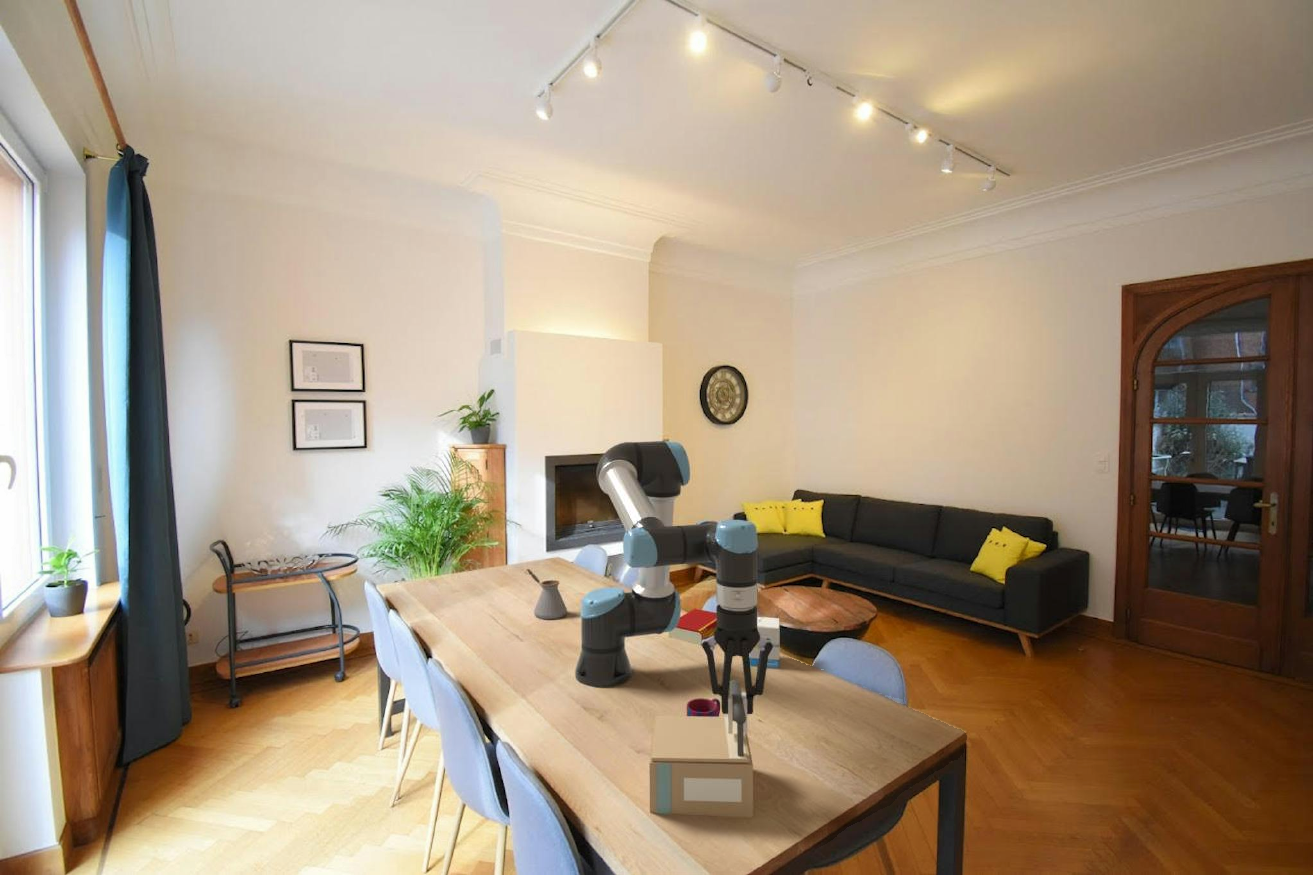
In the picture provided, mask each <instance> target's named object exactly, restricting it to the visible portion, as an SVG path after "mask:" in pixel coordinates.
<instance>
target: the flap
mask: <svg viewBox="0 0 1313 875" xmlns="http://www.w3.org/2000/svg"><path fill="white" fill-rule="evenodd" d="M729 692H731V693H732V714H733V734H728V726H727V715H726V716H719V717H698V716H687V715H686V716H685V715H684V716H683V715H682V716H677V715H673V716H672V715H655V718H654V719H655V727H654V736H653V746H652V756H651V761H677V762H742V763H750V757H749V752H748V747H747V741H746V736H745V734H743V723H745V721H746V715H745V710H744V705H743V700H742V691H741V686H740V682H739V681H738V680H737V679H732V680H730V685H729Z"/></svg>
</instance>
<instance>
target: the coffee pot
mask: <svg viewBox="0 0 1313 875" xmlns="http://www.w3.org/2000/svg"><path fill="white" fill-rule="evenodd" d="M526 572H527V573H526ZM524 573H525V574H526V575H528V574H529V575H531V578H532V579H533V580H534V581H535V583H537V584H539V586H540V587H541V588H542V590H541V592H540V595H539V597H538V600H537V602H536V605H535V608H534V610H533V613H534V616H535V617H536V618H538V619H540V620H547V621H548V620H549V621H550V620H557V619H561V618H563V617H564V616H565V615H567V610H568V609H567V606H566V604H565V601H564V600H563V597H562V595H561V593H560V591H559V589H558V587H559V585H560V581H559V580H554V579H553V580H545V581H542V582H541V581H540V579H539V578H538V577H537V576H536V575H535V574H534V573H533V571H531V569H529V568H527V569H526V570H525V571H524Z"/></svg>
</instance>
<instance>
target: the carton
mask: <svg viewBox="0 0 1313 875" xmlns="http://www.w3.org/2000/svg"><path fill="white" fill-rule="evenodd" d="M652 727H653V728H652V735H651V746H650V754H649V755H650V756H649V813H654V814H659V815H672V814H673V815H674V814H675V815H689V816H690V815H693V816H710V817H712V816H713V817H728V818H750V819H752V818H754V763H753V759H752V753H751V749H750V748H751V747H750V743H749V737H748V733H747V734H745V736H746V741H747V747H748V752H749V757H750V763H742V762H677V761H651V756H652V746H653V736H654V727H655V718H653V726H652Z"/></svg>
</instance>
